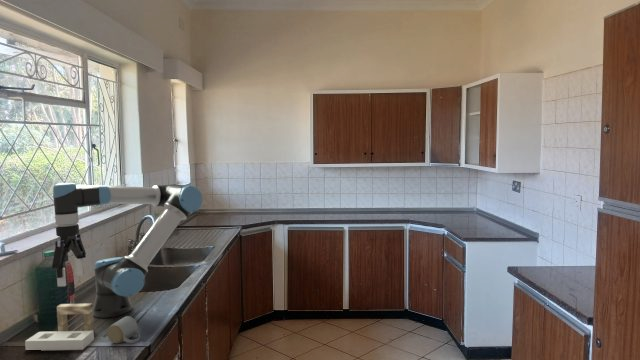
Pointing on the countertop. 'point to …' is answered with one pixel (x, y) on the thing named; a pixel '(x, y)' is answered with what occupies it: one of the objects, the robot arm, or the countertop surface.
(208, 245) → the countertop surface
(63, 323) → the clip
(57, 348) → the white flat block
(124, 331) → the ceramic mug
